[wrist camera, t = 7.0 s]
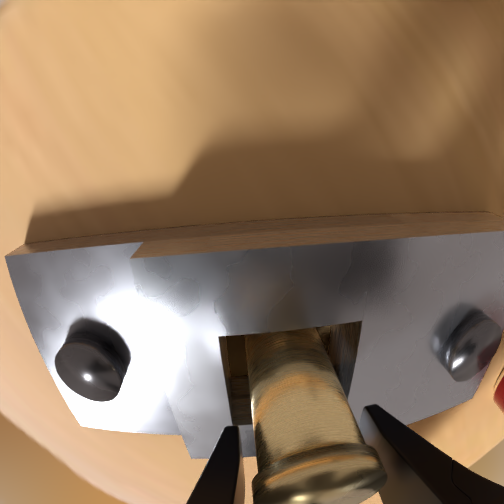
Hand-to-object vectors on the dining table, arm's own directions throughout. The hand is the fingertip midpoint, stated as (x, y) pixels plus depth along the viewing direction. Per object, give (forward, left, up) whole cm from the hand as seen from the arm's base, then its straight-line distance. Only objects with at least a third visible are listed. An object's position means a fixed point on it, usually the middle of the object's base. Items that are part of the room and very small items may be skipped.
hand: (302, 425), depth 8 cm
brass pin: (0, 0, -5) cm, 5 cm away
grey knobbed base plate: (0, 0, -5) cm, 5 cm away
